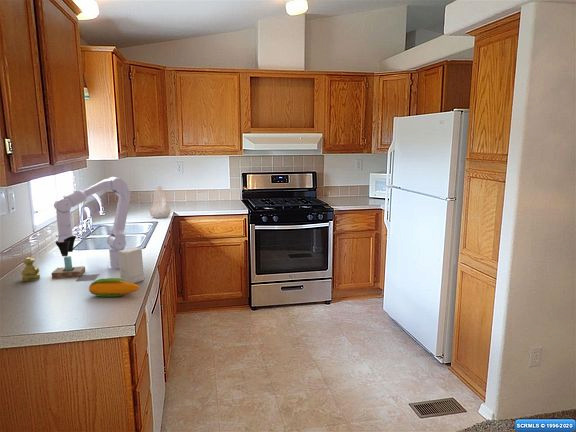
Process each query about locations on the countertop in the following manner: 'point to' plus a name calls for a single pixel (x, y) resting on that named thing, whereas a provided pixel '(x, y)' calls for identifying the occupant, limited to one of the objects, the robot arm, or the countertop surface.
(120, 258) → the skincare box
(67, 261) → the peg
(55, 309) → the countertop surface
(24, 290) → the countertop surface
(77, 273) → the hole block
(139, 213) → the countertop surface
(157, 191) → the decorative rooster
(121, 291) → the corn
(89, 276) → the mat
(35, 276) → the olive yellow figurine
